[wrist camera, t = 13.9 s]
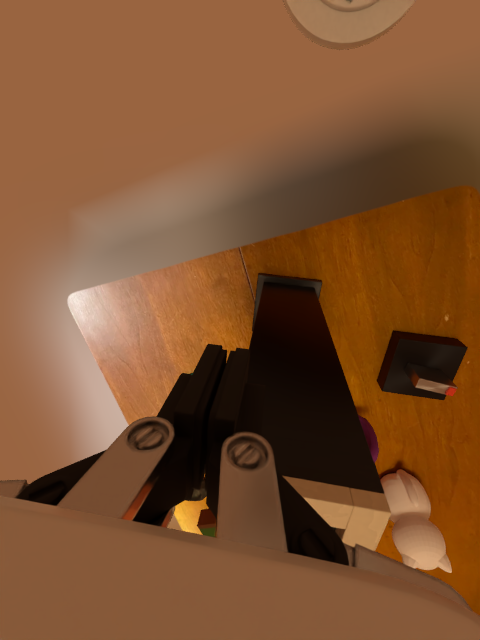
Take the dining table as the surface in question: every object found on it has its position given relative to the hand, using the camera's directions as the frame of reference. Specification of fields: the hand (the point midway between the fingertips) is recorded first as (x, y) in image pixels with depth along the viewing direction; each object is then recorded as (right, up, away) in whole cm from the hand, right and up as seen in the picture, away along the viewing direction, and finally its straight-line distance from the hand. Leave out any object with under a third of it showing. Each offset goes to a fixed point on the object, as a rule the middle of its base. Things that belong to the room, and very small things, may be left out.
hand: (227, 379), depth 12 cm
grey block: (+30, -6, +35) cm, 47 cm away
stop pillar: (+8, +5, +37) cm, 39 cm away
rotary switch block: (+30, -5, +38) cm, 49 cm away
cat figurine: (+33, -31, +49) cm, 67 cm away
